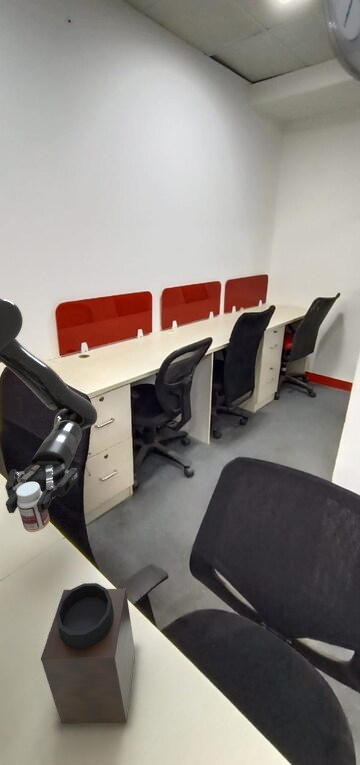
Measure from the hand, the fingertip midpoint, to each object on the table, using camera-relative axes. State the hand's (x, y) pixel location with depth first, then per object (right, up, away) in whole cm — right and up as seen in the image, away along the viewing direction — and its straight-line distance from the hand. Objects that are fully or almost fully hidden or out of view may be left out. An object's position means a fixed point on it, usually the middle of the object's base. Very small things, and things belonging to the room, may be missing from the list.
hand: (25, 509), depth 64 cm
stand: (+15, -27, -5) cm, 31 cm away
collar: (+14, -12, -11) cm, 22 cm away
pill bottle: (0, -5, +5) cm, 7 cm away
